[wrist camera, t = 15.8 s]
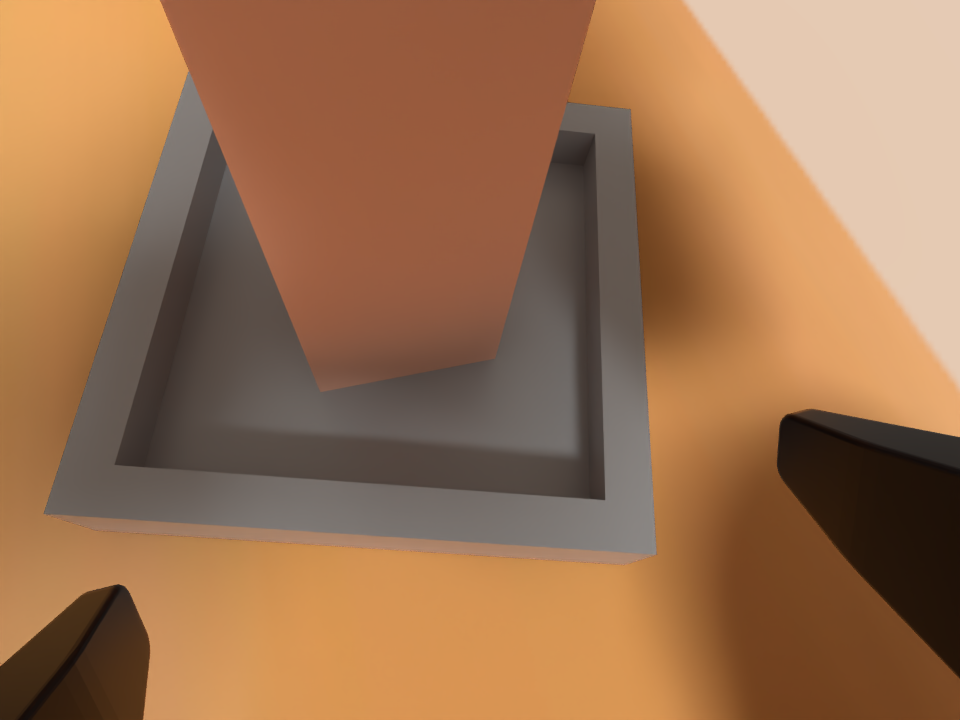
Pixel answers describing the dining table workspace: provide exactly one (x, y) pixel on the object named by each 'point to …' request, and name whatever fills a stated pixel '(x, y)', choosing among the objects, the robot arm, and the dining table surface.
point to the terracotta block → (387, 161)
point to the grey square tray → (372, 386)
